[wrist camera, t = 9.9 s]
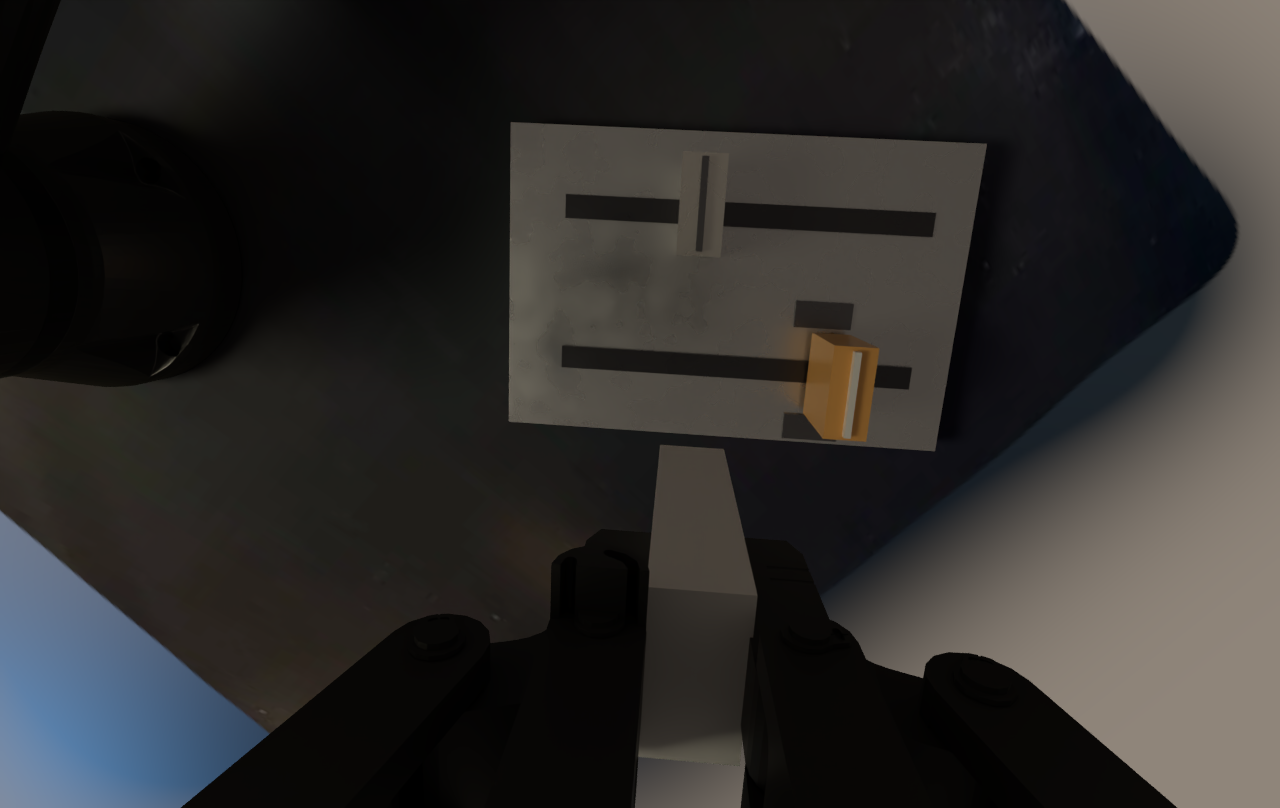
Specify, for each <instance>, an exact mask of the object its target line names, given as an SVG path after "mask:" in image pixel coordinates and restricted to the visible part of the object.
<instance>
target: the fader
mask: <svg viewBox="0 0 1280 808" xmlns="http://www.w3.org/2000/svg"><path fill="white" fill-rule="evenodd" d="M878 355H879V348H878V347H876V346H873V345H871V344H869V343H867V342H865V341H863V340H860V339H858V338H856V337H854V336H852V335H843V334H826V333H812V339H811V348H810V356H809V365H808V373H807V382H806V390H805V399H804V407H803V414H804V415H805V416H806V418H807V419H808V420H809V422H810V423H811V424H812V425H813V427H814V428H815V429H816V431H817V432H818V433H819V434H820V436H821V437H822V438H823V439H833V440H848V441H862V442H866V439H867V432H868V425H869V418H870V411H871V404H872V397H873V390H874V383H875V376H876V369H877V362H878Z"/></svg>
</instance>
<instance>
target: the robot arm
mask: <svg viewBox="0 0 1280 808" xmlns="http://www.w3.org/2000/svg"><path fill="white" fill-rule="evenodd" d="M60 1H61V0H0V378H4V377H10V376H16V377H24V378H33V379H41V380H50V381H58V382H67V383H76V384H84V385H93V386H102V387H120V386H132V385H138V384H143V383H148V382H152V381H156V380H160V379H165V378H169V377H172V376H176V375H178V374H181V373H183V372H185V371H187V370H189V369H191V368H193V367H195V366H196V365H198V364H199V363H201V362H202V361H203V360H205V359H206V358H207V357H208V356H209V355H210V354H211V353H212V352H213V351H214V350H215V349H216V348H217V347H218V345H219V344H220V343H221V342H222V340H223V339H224V337H225V336H226V334H227V332H228V330H229V328H230V326H231V324H232V322H233V320H234V317H235V314H236V311H237V307H238V303H239V299H240V293H241V282H242V269H241V258H240V251H239V246H238V241H237V237H236V234H235V230H234V227H233V224H232V222H231V219H230V217H229V214H228V212H227V210H226V208H225V206H224V204H223V202H222V200H221V199H220V197H219V195H218V194H217V192H216V190H215V189H214V187H213V186H212V184H211V183H210V182H209V180H208V179H207V178H206V176H205V175H204V174H203V173H202V172H201V171H200V169H199V168H198V167H197V166H196V165H195V164H194V163H193V162H192V161H191V160H190V159H189V158H188V157H187V156H186V155H184V154H183V153H182V152H181V151H180V150H178V149H177V148H176V147H175V146H173V145H172V144H170V143H169V142H167V141H166V140H164V139H162V138H161V137H159V136H157V135H156V134H154V133H152V132H150V131H148V130H145V129H143V128H141V127H138V126H135V125H132V124H129V123H125V122H121V121H117V120H113V119H109V118H105V117H101V116H96V115H92V114H87V113H81V112H72V111H45V112H36V113H29V114H21V115H20V113H21V110H22V107H23V104H24V101H25V98H26V95H27V93H28V90H29V87H30V84H31V81H32V78H33V75H34V72H35V69H36V66H37V63H38V61H39V58H40V55H41V52H42V49H43V46H44V44H45V41H46V38H47V36H48V33H49V30H50V28H51V25H52V22H53V20H54V17H55V14H56V12H57V9H58V6H59V4H60ZM808 570H809V569H808V567H807V564H806V562H805V559H804V557H803V554H801V553H800V552H799V551H798V550H797V549H795V548H794V547H793V546H792V545H790V544H789V543H788V542H787V541H780V540H767V539H753V538H744V535H743V530H742V526H741V522H740V517H739V513H738V509H737V504H736V500H735V496H734V491H733V487H732V483H731V478H730V474H729V470H728V465H727V461H726V457H725V452H724V449H713V448H698V447H684V446H669V445H660V453H659V463H658V473H657V483H656V493H655V503H654V513H653V523H652V533H645V532H632V531H619V530H605V529H601V530H600V531H598V532H597V533H596V534H594V535H593V536H592V537H590V538H589V539H588V540H587V541H586V544H585V546H584V547H579V548H574V549H571V550H569V551H566V552H564V553H562V554H560V555H559V556H558V557H557V558H556V559H555V560H554V561H553V563H552V566H551V612H550V621H549V624H548V627H547V630H545V631H543V632H542V633H539V634H537V635H534V636H531V637H528V638H524V639H519V640H513V641H506V642H497V643H490V636H489V630H488V629H487V628H486V627H485V626H484V625H483V624H482V623H481V622H480V621H478V620H475V619H473V618H470V617H468V616H463V615H454V614H440V615H438V614H436V615H430V616H427V617H424V618H420V619H417V620H414V621H411V622H409V623H407V624H405V625H404V626H402V627H400V628H399V629H397V630H395V631H394V632H392V633H391V634H390V635H389V636H388V637H386V638H385V639H384V640H383V641H382V642H380V643H379V644H378V645H377V646H376V647H374V648H373V649H372V650H371V651H369V652H368V653H367V654H366V655H365V656H363V657H362V658H361V659H360V660H359V661H357V662H356V663H355V664H354V665H353V666H351V667H350V668H349V669H348V670H347V671H345V672H344V673H343V674H342V675H341V676H339V677H338V678H337V679H336V680H334V681H333V682H332V683H331V684H330V685H328V686H327V687H326V688H325V689H324V690H322V691H321V692H320V693H319V694H318V695H316V696H315V697H314V698H313V699H312V700H310V701H309V702H308V703H307V704H305V705H304V706H303V707H302V708H301V709H299V710H298V711H297V712H296V713H295V714H293V715H292V716H291V717H290V718H289V719H287V720H286V721H285V722H284V723H283V724H281V725H280V726H279V727H278V728H276V729H275V730H274V731H273V732H272V733H270V734H269V735H268V736H267V737H266V738H264V739H263V740H262V741H261V742H260V743H258V744H257V745H256V746H255V747H254V748H252V749H251V750H250V751H249V752H248V753H246V754H245V755H244V756H243V757H241V758H240V759H239V760H238V761H237V762H235V763H234V764H233V765H232V766H231V767H229V768H228V769H227V770H226V771H225V772H223V773H222V774H221V775H220V776H219V777H217V778H216V779H215V780H214V781H213V782H211V783H210V784H209V785H208V786H206V787H205V788H204V789H203V790H202V791H200V792H199V793H198V794H197V795H196V796H194V797H193V798H192V799H191V800H190V801H188V802H187V803H186V804H185V805H183V806H182V807H181V808H635V797H636V785H637V768H638V757H647V758H659V759H670V760H680V761H692V762H702V763H713V764H724V765H734V766H735V765H736V766H739V765H740V756H741V747H742V740H743V747H744V755H745V763H746V764H745V773H744V782H743V792H742V801H741V808H1177V807H1176V806H1175V805H1173V804H1172V803H1171V802H1170V801H1169V800H1168V799H1166V798H1165V797H1164V796H1163V795H1162V794H1161V793H1160V792H1158V791H1157V790H1156V789H1155V788H1154V787H1153V786H1151V785H1150V784H1149V783H1148V782H1147V781H1146V780H1144V779H1143V778H1142V777H1141V776H1140V775H1139V774H1137V773H1136V772H1135V771H1134V770H1133V769H1132V768H1130V767H1129V766H1128V765H1127V764H1126V763H1125V762H1123V761H1122V760H1121V759H1120V758H1119V757H1118V756H1116V755H1115V754H1114V753H1113V752H1112V751H1110V750H1109V749H1108V748H1107V747H1106V746H1105V745H1104V744H1102V743H1101V742H1100V741H1099V740H1098V739H1097V738H1095V737H1094V736H1093V735H1092V734H1091V733H1090V732H1089V731H1087V730H1086V729H1085V728H1084V727H1083V726H1082V725H1080V724H1079V723H1078V722H1077V721H1076V720H1074V719H1073V718H1072V717H1071V716H1070V715H1069V714H1068V713H1066V712H1065V711H1064V710H1063V709H1062V708H1061V707H1059V706H1058V705H1057V704H1056V703H1055V702H1053V701H1052V700H1051V699H1050V698H1049V697H1048V696H1047V695H1045V694H1044V693H1043V692H1042V691H1041V690H1039V689H1038V688H1037V687H1036V686H1035V685H1034V684H1033V683H1031V682H1030V681H1029V680H1027V679H1026V678H1024V677H1023V676H1021V675H1020V674H1018V673H1017V672H1015V671H1014V670H1013V669H1011V668H1009V667H1006V666H1004V665H1002V664H1000V663H998V662H995V661H994V660H992V659H990V658H986V657H983V656H981V657H980V656H978V655H974V654H969V653H951V652H948V653H944V654H940V655H936V656H933V657H932V658H931V659H930V660H929V661H928V662H927V663H926V666H925V671H924V677H923V678H920V677H916V676H913V675H909V674H906V673H902V672H899V671H895V670H891V669H888V668H885V667H882V666H880V665H877V664H874V663H872V662H870V661H868V660H866V658H865V656H864V654H863V652H862V650H861V647H860V645H859V643H858V642H857V640H856V639H855V638H854V636H853V635H852V634H851V633H850V631H848V630H847V629H845V628H844V627H842V626H841V625H839V624H838V623H836V622H834V621H832V620H829V617H828V615H827V613H826V610H825V608H824V605H823V603H822V600H821V598H820V596H819V593H818V591H817V588H816V586H815V585H814V581H813V579H812V576H811V574H810V572H809V571H808Z"/></svg>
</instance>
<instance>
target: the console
mask: <svg viewBox="0 0 1280 808" xmlns="http://www.w3.org/2000/svg"><path fill="white" fill-rule="evenodd" d="M986 147H987V144H978V143H956V142H934V141H912V140H890V139H868V138H846V137H824V136H802V135H780V134H758V133H736V132H714V131H692V130H670V129H648V128H626V127H604V126H582V125H560V124H538V123H516V122H511V164H510V326H509V422H523V423H538V424H552V425H566V426H581V427H595V428H609V429H624V430H638V431H653V432H667V433H681V434H696V435H710V436H725V437H739V438H753V439H768V440H782V441H797V442H811V443H825V444H840V445H854V446H868V447H883V448H897V449H912V450H926V451H935V447H936V441H937V436H938V430H939V424H940V418H941V412H942V406H943V400H944V394H945V388H946V383H947V377H948V371H949V365H950V359H951V353H952V347H953V341H954V335H955V330H956V324H957V318H958V312H959V306H960V300H961V294H962V288H963V282H964V276H965V271H966V265H967V259H968V253H969V247H970V241H971V235H972V229H973V223H974V218H975V212H976V206H977V200H978V194H979V188H980V182H981V176H982V170H983V164H984V159H985V153H986ZM812 333H826V334H843V335H852V336H854V337H856V338H858V339H860V340H863V341H865V342H867V343H869V344H871V345H873V346H876V347H878V348H879V355H878V362H877V369H876V376H875V383H874V390H873V397H872V404H871V411H870V418H869V425H868V432H867V439H866V442H862V441H848V440H833V439H823V438H822V437H821V436H820V434H819V433H818V432H817V431H816V429H815V428H814V427H813V425H812V424H811V423H810V422H809V420H808V419H807V418H806V416H805V415H804V414H803V407H804V399H805V390H806V382H807V373H808V365H809V356H810V348H811V339H812Z"/></svg>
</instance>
